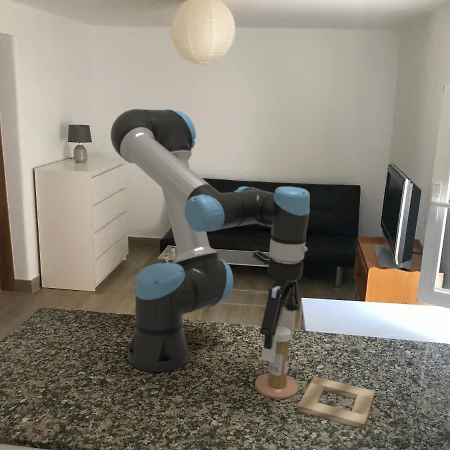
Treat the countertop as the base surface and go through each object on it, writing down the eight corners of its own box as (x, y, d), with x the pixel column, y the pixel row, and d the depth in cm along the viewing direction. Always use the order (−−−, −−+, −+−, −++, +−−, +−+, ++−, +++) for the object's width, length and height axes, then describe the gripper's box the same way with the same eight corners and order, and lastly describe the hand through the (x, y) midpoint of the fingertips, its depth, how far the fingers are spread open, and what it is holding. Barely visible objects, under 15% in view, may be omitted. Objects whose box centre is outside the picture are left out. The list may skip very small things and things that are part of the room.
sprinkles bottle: (290, 385, 120) (295, 331, 117) (275, 391, 117) (279, 336, 114) (278, 376, 124) (282, 324, 120) (262, 381, 121) (266, 328, 118)
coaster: (248, 391, 118) (248, 388, 118) (263, 372, 127) (263, 369, 127) (291, 403, 114) (291, 400, 114) (303, 382, 123) (303, 379, 123)
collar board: (297, 410, 112) (297, 405, 112) (314, 380, 124) (314, 376, 124) (363, 429, 106) (364, 424, 106) (374, 396, 119) (374, 391, 119)
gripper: (285, 278, 101) (275, 377, 106) (317, 247, 123) (308, 330, 129) (249, 271, 104) (241, 367, 109) (287, 242, 126) (279, 323, 131)
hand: (277, 347), depth 119 cm, fingers open, 13 cm apart
